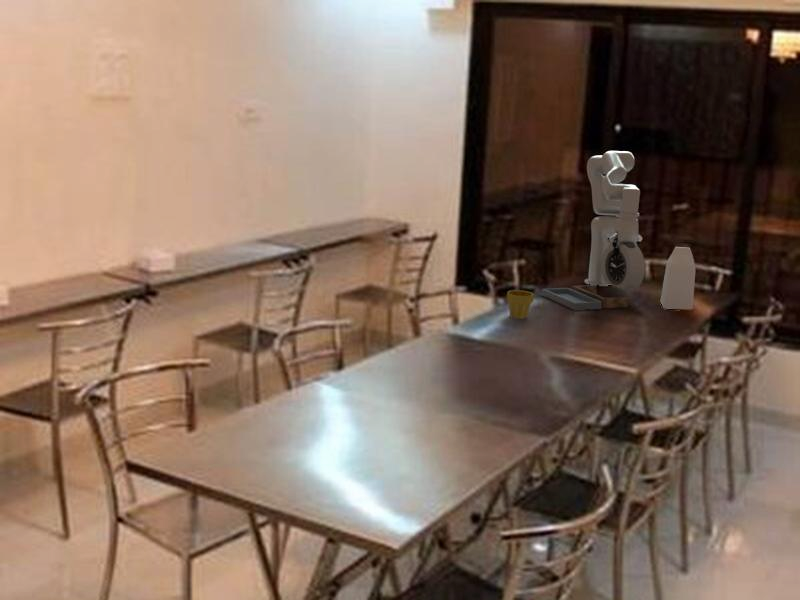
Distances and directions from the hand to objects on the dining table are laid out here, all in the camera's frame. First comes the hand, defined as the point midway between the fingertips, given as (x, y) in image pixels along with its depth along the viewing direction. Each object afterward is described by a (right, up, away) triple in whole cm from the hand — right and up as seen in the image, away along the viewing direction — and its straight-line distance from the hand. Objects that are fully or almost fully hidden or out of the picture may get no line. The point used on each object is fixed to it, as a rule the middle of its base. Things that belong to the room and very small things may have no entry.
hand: (623, 256), depth 462 cm
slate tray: (-24, -20, -6) cm, 32 cm away
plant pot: (-50, -26, -37) cm, 67 cm away
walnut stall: (-11, -19, -1) cm, 22 cm away
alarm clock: (-1, -13, +3) cm, 13 cm away
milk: (+21, -22, -5) cm, 31 cm away
